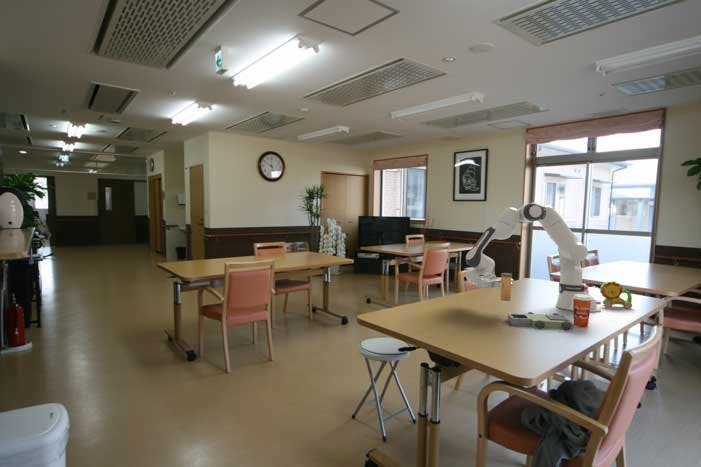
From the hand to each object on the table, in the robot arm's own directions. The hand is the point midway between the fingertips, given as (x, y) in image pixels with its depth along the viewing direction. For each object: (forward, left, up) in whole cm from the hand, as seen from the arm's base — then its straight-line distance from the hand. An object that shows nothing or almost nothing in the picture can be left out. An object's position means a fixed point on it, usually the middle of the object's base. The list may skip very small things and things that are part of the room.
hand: (507, 285), depth 205 cm
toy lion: (-69, -35, -17) cm, 79 cm away
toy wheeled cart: (-17, +11, -17) cm, 27 cm away
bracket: (-60, -46, -17) cm, 77 cm away
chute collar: (-4, +11, -17) cm, 21 cm away
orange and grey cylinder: (0, -1, -8) cm, 8 cm away
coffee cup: (-33, +9, -17) cm, 39 cm away
